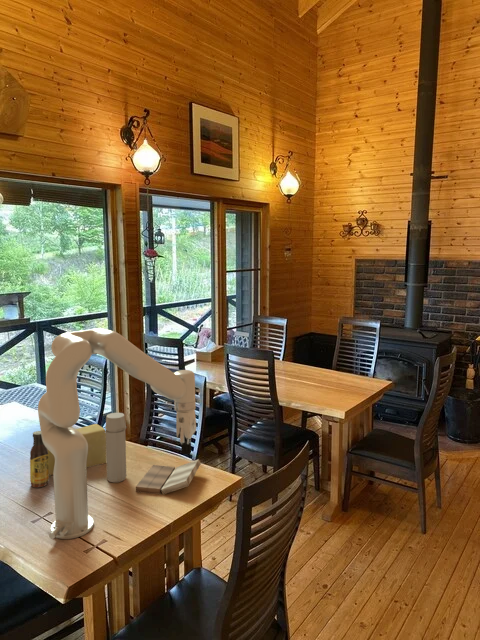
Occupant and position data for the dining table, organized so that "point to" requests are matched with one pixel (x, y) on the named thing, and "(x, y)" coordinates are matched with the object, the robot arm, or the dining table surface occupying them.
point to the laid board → (154, 479)
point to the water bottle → (115, 447)
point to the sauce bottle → (38, 462)
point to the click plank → (181, 477)
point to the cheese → (95, 447)
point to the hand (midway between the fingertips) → (186, 453)
